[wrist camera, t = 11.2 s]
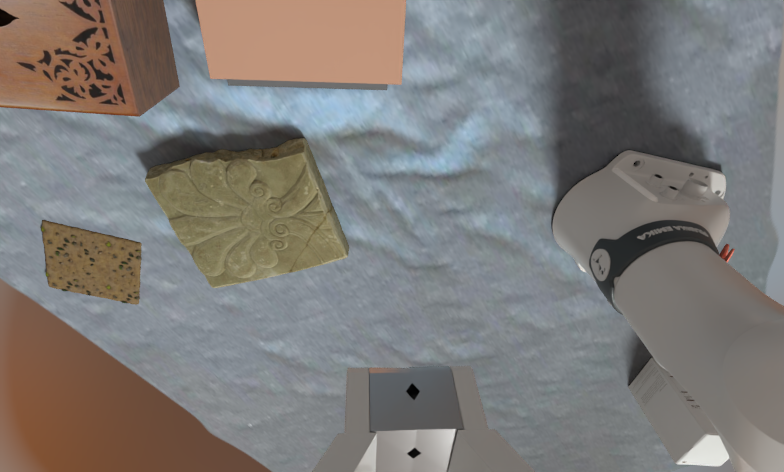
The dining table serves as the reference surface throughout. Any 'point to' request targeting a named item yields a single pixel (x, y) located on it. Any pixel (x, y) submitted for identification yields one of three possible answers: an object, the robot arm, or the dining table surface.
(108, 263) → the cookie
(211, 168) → the decorative tile
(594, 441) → the dining table surface
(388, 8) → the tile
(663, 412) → the supplement box
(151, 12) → the tissue box cover
